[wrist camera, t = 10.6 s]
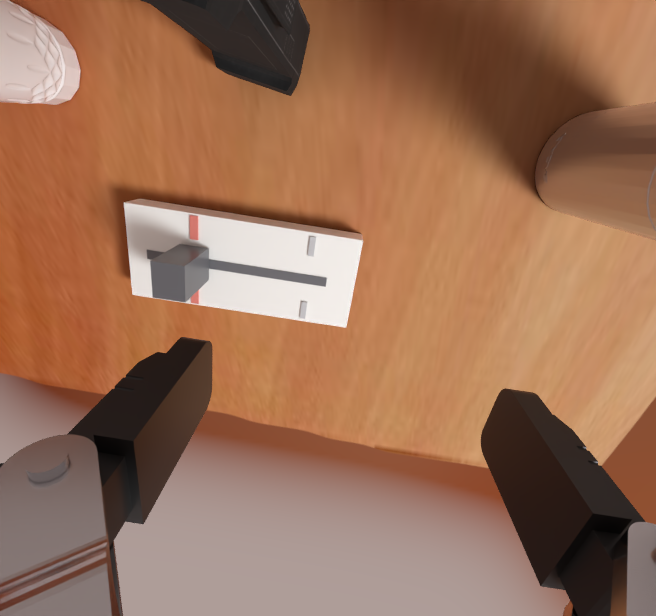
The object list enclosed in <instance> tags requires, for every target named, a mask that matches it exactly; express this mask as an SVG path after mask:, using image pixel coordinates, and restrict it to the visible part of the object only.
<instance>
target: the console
mask: <svg viewBox="0 0 656 616" xmlns="http://www.w3.org/2000/svg"><path fill="white" fill-rule="evenodd" d="M124 210H125V221H126V232H127V242H128V253H129V263H130V274H131V284H132V295H137V296H144V297H150V298H153V295H152V281H151V266H150V261H151V260H152V259H154V258H156V257H158V256H159V255H161V254H163V253H165V252H166V251H168V250H170V249H172V248H173V247H175V246H177V245H179V244H185V245H191V246H198V247H204V248H209V280H208V281H207V282H206V283H205V284H204V285H203V286H202V287H201V288H200V289H199V290H198V291H197V292H196V293H195V294H194V295H193V296H192V297H191V298H190V299H189V300H188V301H187V302H183V303H190V304H196V305H203V306H209V307H216V308H222V309H229V310H235V311H242V312H248V313H255V314H261V315H268V316H274V317H281V318H287V319H294V320H300V321H307V322H313V323H320V324H326V325H333V326H339V327H346V326H347V321H348V316H349V311H350V306H351V301H352V295H353V290H354V285H355V280H356V275H357V270H358V265H359V259H360V254H361V249H362V244H363V237H362V234H359V233H353V232H347V231H340V230H334V229H328V228H322V227H315V226H309V225H303V224H297V223H290V222H284V221H278V220H272V219H265V218H259V217H253V216H247V215H240V214H234V213H228V212H222V211H215V210H209V209H203V208H197V207H190V206H184V205H178V204H172V203H165V202H159V201H153V200H146V199H136V200H132V201H127V202H124ZM157 299H159V298H157ZM163 300H166V299H163ZM170 301H172V300H170ZM176 302H179V301H176Z"/></svg>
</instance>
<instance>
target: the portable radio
mask: <svg viewBox="0 0 656 616" xmlns="http://www.w3.org/2000/svg"><path fill="white" fill-rule="evenodd" d="M141 1H144V2H147V3H150V4H152V5H153V6H154V7H156V8H157V9H158V10H160V11H161V12H162V13H164V14H165V15H166V16H168V17H169V18H170V19H172V20H173V21H174V22H176V23H177V24H178V25H180V26H181V27H182V28H184V29H185V30H186V31H188V32H189V33H190V34H192V35H193V36H194V37H196V38H197V39H198V40H200V41H201V42H202V43H203V44H205V45H206V46H207V47H208V48H210V49H211V50H212V54H213V57H214V60H215V64H216V67H217V68H219V69H220V70H222V71H223V72H225V73H227V74H229V75H232V76H234V77H237V78H240V79H243V80H246V81H249V82H252V83H255V84H258V85H260V86H263V87H266V88H269V89H272V90H275V91H278V92H281V93H283V94H286V95H290V96H291V95H292V93H293V91H294V90H295V88H296V86H297V83H298V80H299V77H300V73H301V69H302V64H303V59H304V55H305V50H306V46H307V41H308V36H309V32H310V27H309V24H308V22H307V20H306V16H305V14H304V12H303V10H302V8H301V6H300V3H299V0H141Z"/></svg>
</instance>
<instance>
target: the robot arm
mask: <svg viewBox="0 0 656 616" xmlns="http://www.w3.org/2000/svg"><path fill="white" fill-rule="evenodd" d="M535 183H536V189H537V191H538V194H539V196H540V198H541V199H542V200H543V202H544V203H545V204H546V205H548V206H549V207H550V208H551V209H553V210H556V211H558V212H561V213H564V214H568V215H571V216H575V217H578V218H581V219H584V220H588V221H591V222H595V223H598V224H602V225H605V226H608V227H612V228H615V229H619V230H622V231H626V232H629V233H633V234H636V235H640V236H643V237H646V238H650V239H653V240H656V102H654V103H647V104H640V105H633V106H626V107H619V108H612V109H606V110H599V111H593V112H589V113H585V114H582V115H579V116H577V117H575V118H573V119H571V120H569V121H568V122H567V123H565V124H564V125H562V126H561V127H560V128H559V129H558V130H557V131H556V132H555V133H554V134H553V135H552V136H551V137H550V138H549V140H548V141H547V143H546V144H545V146H544V147H543V149H542V151H541V153H540V155H539V158H538V161H537V165H536V170H535ZM211 392H212V344H211V342H210V341H205V340H198V339H192V338H186V337H181V338H180V339H179V340H178V341H177V342H176V343H175V344H174V345H173V346H172V348H171V349H170V350H169V351H168V352H167V353H160V352H157V353H155V354H153V355H151V356H149V357H147V358H146V359H144V360H142V361H140V362H138V363H137V364H136V365H135V366H134V367H133V368H132V369H131V370H130V371H129V373H128V374H127V375H126V377H125V378H123V379H122V380H121V381H120V382H119V383H118V384H117V385H116V386H115V389H112V390H111V391H110V392H109V393H108V394H107V395H106V396H105V397H104V398H103V399H102V400H101V401H100V402H99V403H98V404H97V405H96V406H95V407H94V408H93V409H92V410H91V411H90V412H89V413H88V414H87V415H86V416H85V417H84V418H83V419H82V420H81V421H80V422H79V423H78V424H77V425H76V426H75V427H74V428H73V429H72V430H71V431H70V432H69V433H68V434H67V435H58V436H53V437H49V438H46V439H42V440H40V441H37V442H35V443H32V444H31V445H29V446H26V447H25V448H23V449H21V450H20V451H18V452H17V453H15V454H14V455H13V456H12V457H10V458H9V459H8V460H7V461H6V462H5V463H1V464H0V616H123V611H122V603H121V595H120V587H119V578H118V571H117V562H116V554H115V546H114V539H115V537H116V536H117V534H118V532H119V531H120V529H121V527H122V526H123V524H124V522H125V521H126V522H132V523H139V524H144V522H145V520H146V519H147V517H148V515H149V513H150V511H151V510H152V508H153V506H154V504H155V502H156V500H157V499H158V497H159V495H160V493H161V491H162V490H163V488H164V486H165V484H166V482H167V480H168V479H169V477H170V475H171V473H172V471H173V469H174V467H175V466H176V464H177V462H178V460H179V459H180V457H181V454H182V453H183V451H184V450H185V448H186V446H187V444H188V442H189V440H190V439H191V437H192V435H193V433H194V431H195V429H196V428H197V426H198V424H199V422H200V420H201V419H202V417H203V415H204V413H205V411H206V409H207V407H208V404H209V401H210V398H211ZM481 448H482V452H483V455H484V458H485V460H486V462H487V464H488V467H489V469H490V471H491V473H492V476H493V478H494V480H495V483H496V485H497V487H498V490H499V492H500V494H501V496H502V498H503V501H504V503H505V506H506V508H507V510H508V512H509V515H510V517H511V519H512V521H513V524H514V526H515V528H516V531H517V533H518V535H519V537H520V540H521V542H522V544H523V547H524V549H525V551H526V554H527V556H528V558H529V560H530V563H531V565H532V567H533V569H534V572H535V574H536V577H537V579H538V581H539V583H540V586H543V587H549V588H556V589H563V590H566V592H567V594H568V596H569V599H570V601H569V603H568V604H567V605H566V607H565V608H564V612H563V616H656V525H655V524H652V523H647V522H645V521H644V519H643V518H642V517H641V516H640V514H639V513H638V512H637V511H636V509H635V508H634V507H633V505H632V504H631V503H630V502H629V500H628V499H627V498H626V497H625V495H624V494H623V493H622V492H621V490H620V489H619V488H618V487H617V485H616V484H615V483H614V482H613V480H612V479H611V478H610V477H609V475H608V474H607V473H606V471H605V470H604V469H603V468H602V466H598V461H597V460H596V459H595V458H594V456H593V455H592V454H591V453H590V451H587V450H586V446H585V445H584V444H583V442H582V441H581V440H580V439H579V437H578V436H577V435H576V434H575V432H574V431H573V430H572V429H571V428H569V427H568V426H567V425H566V424H564V423H563V422H562V421H561V420H560V419H558V418H557V417H556V416H555V415H552V413H551V412H550V411H549V409H548V408H547V407H546V406H545V404H544V403H543V402H542V400H541V399H540V398H539V396H538V395H536V394H535V393H531V392H525V391H519V390H512V389H503V390H502V391H501V392H500V393H499V395H498V397H497V399H496V401H495V404H494V406H493V408H492V410H491V413H490V415H489V417H488V419H487V422H486V424H485V426H484V428H483V431H482V435H481Z"/></svg>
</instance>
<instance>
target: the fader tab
mask: <svg viewBox="0 0 656 616" xmlns="http://www.w3.org/2000/svg"><path fill="white" fill-rule="evenodd" d="M150 266H151V281H152V295H153V298H159V299H166V300H172V301H179V302H187V301H188V300H189V299H190V298H191V297H192V296H193V295H194V294H195V293H196V292H197V291H198V290H199V289H200V288H201V287H202V286H203V285H204V284H205V283H206V282H207V281H208V280H209V248H204V247H198V246H191V245H185V244H179V245H177V246H175V247H173V248H172V249H170V250H168V251H166V252H165V253H163V254H161V255H159V256H158V257H156V258H154V259H152V260H151V261H150Z"/></svg>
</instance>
